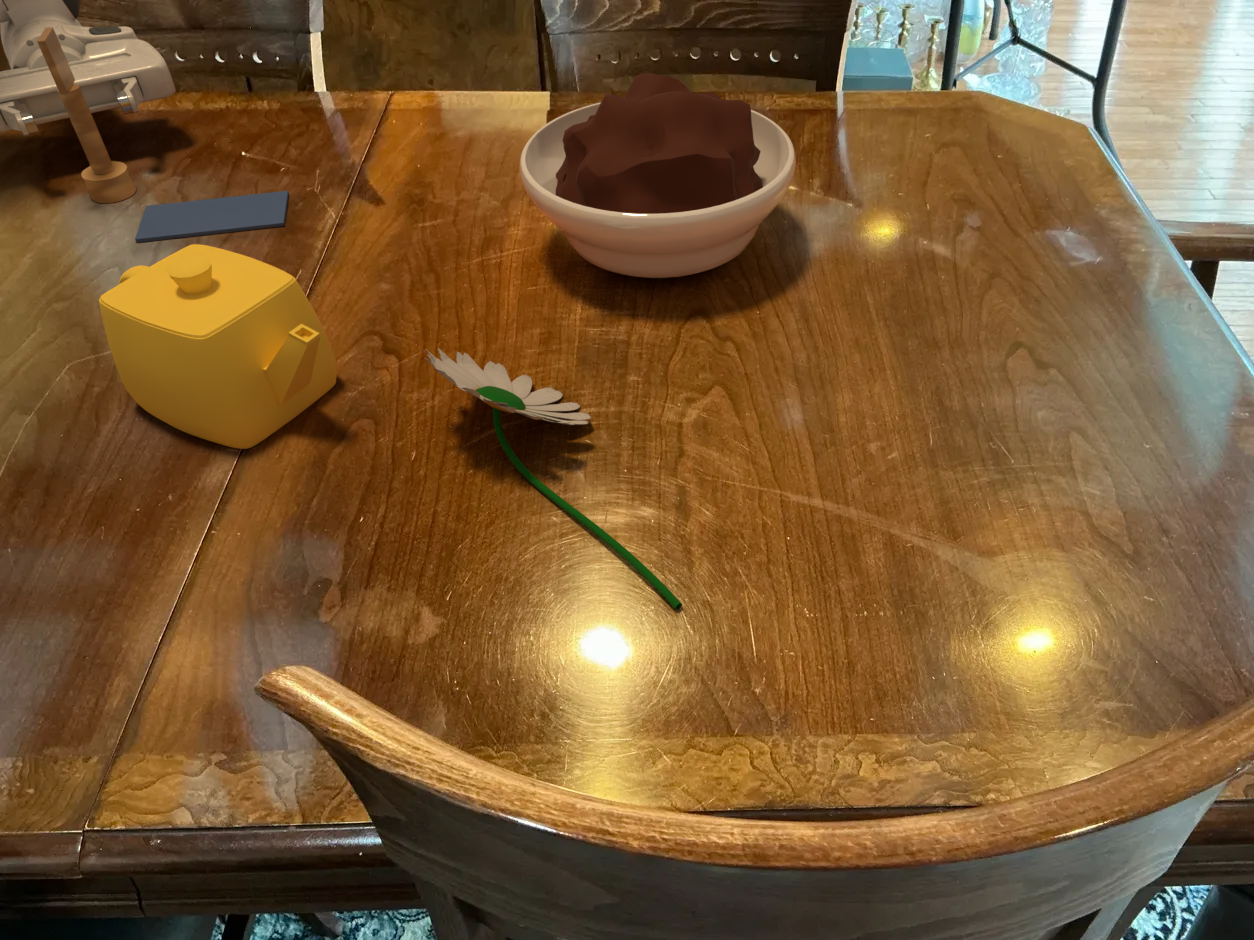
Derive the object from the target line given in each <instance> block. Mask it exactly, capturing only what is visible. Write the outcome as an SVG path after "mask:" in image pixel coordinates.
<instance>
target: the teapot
mask: <svg viewBox="0 0 1254 940" xmlns="http://www.w3.org/2000/svg"><path fill="white" fill-rule="evenodd" d="M98 304H99V310H100V314H101V319H102V323H103V328H104V332H105V335H106V340H107V343H108V346H109V350H110V353H111V357H112V359H113V363H114V365H115V368H116V370H117V373H118V376H119V378H120V380H121V382H122V385H123V387H124V388H125V390H126V391H127V393H128V394H129V395H130V396H131V398H132V399H133V400H134V401H135V402H136V403H137V404H138V405H139V406H140V407H141V408H142V410H144V411H145V412H147V413H148V414H150V415H151V416H153V417H155V418H156V419H158V420H160V421H162V422H164V423H166V424H167V425H168V426H171V427H173V428H175V429H177V430H179V431H180V432H183V433H186V434H188V435H190V436H194V437H197V438H200V439H202V440H205V441H208V442H212V443H215V444H218V445H221V446H226V447H229V448H233V449H240V450H246V449H247V450H248V449H252V448H253V447H254V446H255V447H256V445H258V444H260V443H261V442H262V441H264V440H266V439H267V438H268V437H270V436H271V435H273V434H274V433H276V432H277V431H278V430H280V429H281V428H283V427H284V426H285V425H287V424H288V423H289V422H291V421H292V420H293V419H295V418H296V417H297V416H299V415H301V413H303V412H304V411H306V410H307V409H308V408H309V407H310V406H312V405H313V404H314V403H315V402H317V401H318V400H319V399H321V398H322V397H323V396H324V395H326V394H327V393H328V392H329V391H330V390H332V389H333V387H334V386H335V385H336V383H337V371H338V370H337V369H338V368H337V367H338V366H337V360H336V357H335V353H334V351H333V348H332V346H331V343H330V341H329V338H328V336H327V333H326V331H325V329H324V327H323V325H322V322H321V321H320V319H319V316H318V315H317V313H316V311H315V309H314V307H313V306H312V304H311V302H310V301H309V299H308V297H307V296H306V294H305V292H304V290H303V289H302V287H301V286H300V284H299V281H297V279H296V278H295V276H293V275H291V273H288V272H287V271H285V270H283V269H280V268H278V267H276V266H274V265H271V264H270V263H266V262H264V261H262V260H258V259H256V258H253V257H250V256H248V255H245V254H241V253H237V252H234V251H231V250H226V249H223V248H219V247H217V246H211V245H206V244H198V243H193V244H189V245H187V246H185V247H183V248H181V249H179V250H177V251H175V252H174V253H171V254H170V255H167V256H166V257H164V258H163V259H160V260H159V261H157V262H155V263H154V264H152V265H150V266H148V265H135V266H132V267H129V268H127V270H126V271H124V272H123V273H122V275H121V276H120V278H119V280H118V284H117V285H116V286H114V287H112V288H111V289H109V290H107V291H106V292H105V293H103V294H101V295H100V297H99V299H98Z"/></svg>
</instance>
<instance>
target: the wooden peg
mask: <svg viewBox="0 0 1254 940" xmlns="http://www.w3.org/2000/svg"><path fill="white" fill-rule="evenodd" d="M37 43H38V45H39V47H40V50H41V52H42V54H43V56H44V59H45V61H46V63H47V65H48V68H49V70H50V72H51V75H52V77H53V79H54V81H55V84H56V86H57V91H58V93H59V95H60V98H61V100H62V102H63V104H64V107H65V109H66V111H67V114H68V116H69V118H68V119H69V120H70V123H71V125H72V127H73V129H74V132H75V134H76V136H77V138H78V141H79V143H80V145H81V148H82V150H83V152H84V155H85V156H86V159H87V161H88V163H89V166H88V167H86V168H85V169H83V170H82V171H81V174H80V176H81V179H82V181H83V182H84V185H85V187H86V190H87V192H88V194H89V196H90V199H91V200H92V201H93V202H95V203H97V204H112V203H118V202H121V201H122V202H123V201H124V200H127V199H129V198H131V197H132V196H133V195H135V193H136V192H137V187H136V185H135V182H134V180H133V177H132V175H131V173H130V170H129V168H128V165H127V164H125V162H123V161H116V160H112V159H111V157H110V155H109V153H108V150H107V148H106V146H105V143H104V141H103V138H102V136H101V134H100V131H99V129H98V127H97V124H96V121H95V119H94V117H93V115H92V113H91V112H90V110H89V108H88V105H87V103H86V100H85V98H84V96H83V93H82V91H81V89H80V86H79V85H78V84H73V83H74V81H75V78H74V76H73V73H72V71H71V69H70V66H69V64H68V62H67V59H66V57H65V55H64V52H63V50H62V48H61V45H60V43H59V40H58V38H57V36H56V33H55V31H54V29H53V27H49V28H45V29H44V31H43V33H42V34H41V36H40V37H39V39H38V40H37Z"/></svg>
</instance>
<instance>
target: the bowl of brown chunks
mask: <svg viewBox="0 0 1254 940" xmlns="http://www.w3.org/2000/svg"><path fill="white" fill-rule="evenodd" d="M796 165H797V155H796V151H795V147H794V144H793V142H792V140H791V138H790V137H789V136H788V134H787V133H786V132H785V130H784V129H783V128H782V127H781V126H779V124H777V123H776V122H775V121H774V120H772V119H771V118H769V117H767V116H766V115H763V114H762V113H760V112H758V111H756V110H753V109H752V107H751V104H749V103H747V102H746V101H744V100H742V99H736V100H735V99H723V98H721V97H720V96H719V95H717V94H716V92H715V93H714V92H713V91H709V92H692V91H691V90H690V88H688V87H687V85H685V84H684V83H683V82H682V81H680V80H679V79H678V78H675V77H673V76H670V75H665V74H663V75H662V74H656V73H650V72H644V73H642V72H641V73H640V74H638V75H637V76H635V77H634V78H633V80H632V81H631V84H630V85H629V88H628V89H627V91H626V94H625V96H623V97H622V96H621V95H618V94H617V95H616V94H611V93H606V94H605V95H604V97H603V98H602V100H601V101H599V102H596V103H592V104H588V105H585V106H582V107H579V108H576V109H574V110H571V111H568V112H566V113H564V114H561V115H560V116H558V117H556V118H554V119H552V120H550V121H549V122H547V123H546V124H544V125H543V126H541V127H540V128H539V129H538V130H537V131H536V132H535V133H533V134H532V136H531V137H530V138H529V139H528V140H527V142H526V144H525V145H524V147H523V148H522V151H521V154H520V158H519V163H518V170H519V175H520V179H521V180H520V181H521V185H522V187H523V189H524V191H525V193H526V194H527V196H528V198H529V199H530V200H531V202H532V203H533V205H534V206H535V207H536V208H537V209H538V210H539V212H541V213H542V215H543V216H544V217H545V218H546V219H547V220H548V221H549V222H551V223H552V224H553V225H554V226H556V227H557V228H558V229H559V230H561V232H562V233H563V235H564V236H565V238H566V239H567V241H568V242H569V244H570V245H571V246H572V248H573V249H574V250H575V252H576V253H577V254H578V255H579V256H580V257H582V258H583V260H585V261H587V262H588V263H590V264H592V265H594V266H596V267H598V268H601V269H603V270H605V271H608V272H612V273H615V274H620V275H623V276H624V275H625V276H629V277H635V278H643V279H644V278H646V279H647V278H648V279H669V278H670V279H671V278H680V277H685V276H691V275H692V276H693V275H696V274H699V273H702V272H703V273H704V272H706V271H709V270H712V269H715V268H718V267H720V266H722V265H724V264H726V263H728V262H730V261H731V260H733V259H735V258H736V257H737V256H739V255H740V254H742V252H743V251H745V249H747V247H748V246H749V244H750V243H751V241H752V240H753V238H754V236H755V235H756V233H757V231H758V229H759V226H760V224H761V223H762V222H763V221H764V220H766V218H767V217H768V216H769V215H770V214H771V213H772V212H773V211H774V210H775V209H776V207H777V206H778V205H779V204H780V202H782V200H783V199H784V197H785V195H786V194H787V192H788V190H789V188H790V186H791V185H792V182H793V180H794V178H795V173H796V168H797V167H796Z"/></svg>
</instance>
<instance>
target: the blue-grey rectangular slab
mask: <svg viewBox="0 0 1254 940" xmlns="http://www.w3.org/2000/svg"><path fill="white" fill-rule="evenodd" d="M289 197H290V193H289V190H281V191H272V192H263V193H254V194H243V195H235V196H234V195H233V196H225V197H215V198H207V199H206V198H205V199H196V200H188V201H186V200H185V201H178V202H169V203H158V204H149V205H145V208H144V210H143V214H142V217H141V220H140V223H139V225H138V229H137V232H136V235H135V238H134V240H135V243H146V242H154V241H155V242H156V241H163V240H164V241H165V240H172V239H180V238H181V239H183V238H191V237H198V236H199V237H200V236H208V235H219V234H228V233H235V232H245V231H252V230H262V229H271V228H280V227H285V226H286V218H287V211H288V204H289Z"/></svg>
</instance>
